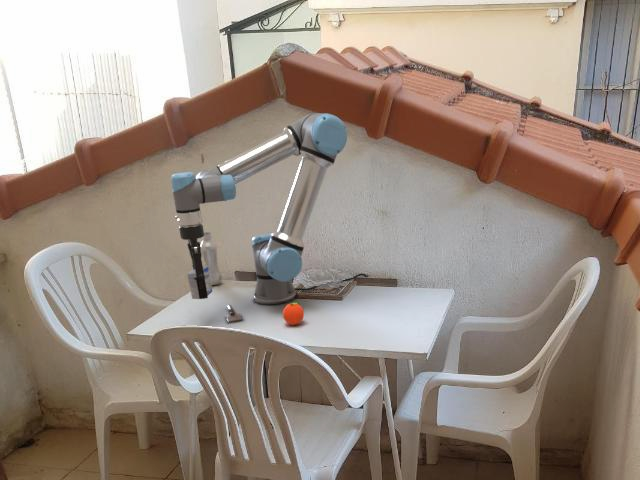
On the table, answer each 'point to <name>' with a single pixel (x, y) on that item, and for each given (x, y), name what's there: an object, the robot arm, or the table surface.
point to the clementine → (293, 313)
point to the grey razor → (233, 315)
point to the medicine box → (194, 283)
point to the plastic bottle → (210, 258)
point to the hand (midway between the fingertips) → (202, 294)
